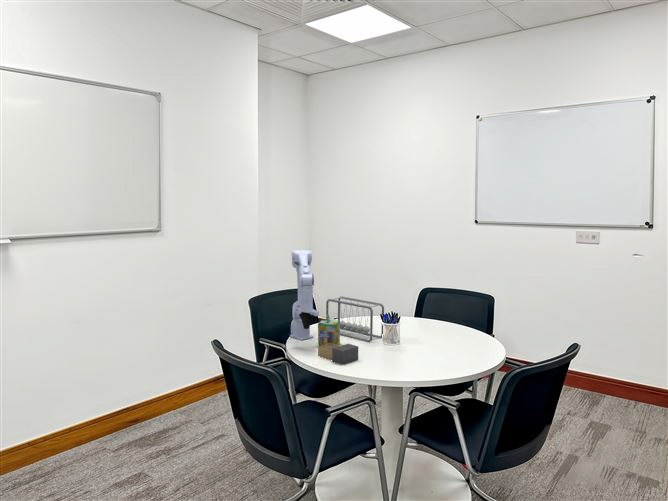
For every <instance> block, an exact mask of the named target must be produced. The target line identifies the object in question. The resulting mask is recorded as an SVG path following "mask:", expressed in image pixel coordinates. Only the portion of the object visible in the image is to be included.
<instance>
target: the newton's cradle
mask: <svg viewBox="0 0 668 501" xmlns="http://www.w3.org/2000/svg"><path fill="white" fill-rule="evenodd" d="M330 302H332V303H337V321H340V330H343V331H348V332H352V333H356V334H359V335H364V336H369V339H366V338H361V337H359V336H354V335H351V334H346V333H342V332H340V337H341V336H342V337H347V338H350V339H353V340H358V341H362V342H367V343H370V342H372V341H373V340H376V339H382V338H383V337H382V334H383V325H382V324H381V328H380V329H381V335H378V334H377V335H376V334H374V333H373V327H374V326H373V325H374V324H373V319H374V318H373V316H374V311H373V308H374V307H378V306H380V307H381V315H382V314H384V315H385V306H384V304H383V303H379V302H374V301H368V300H364V299H359V298H358V299H357V298H352V297H346V296H339V297H336V298H332V299H331V298H327V300H326V304H325V306H326V307H325V312H326V313H325V314H326V316H327V314H328V315H329V303H330ZM341 304H343V305H344V306H345V308H344V310H343V312H345V309H346V311H348V309H347V305H348V306H351V307H356V311H355V312H357V314H358V315H357V316H360V314H359V311H358V308H362V310H361V311H362V313H363V314H364V317H366V315H365V314H366V313H365V312H364V309H368V312H367V313H368V314H370V322H369V326H368V325H367V322H365V323H364V324H365V326H363V324H362V323H361V320H362V318H363V316H361V317H360V318H361V319H360V320H358V322H359V324H357V323H356V322H355V320H356V318H357V316H355V319H354V318H352V321H353V323H351V322H350V320H351V319H350V318H351V316H349V317H348V315H346V317H347V318H346V319H348V321H347V322H345V321H344V320H341V319H344V318H345V316H344V315H343V316H342V313H341V307H342V306H341ZM370 305H371V306H370ZM369 311H370V313H369ZM351 312H352V314H354V311H353V309H350V311H349V313H351ZM326 316H325V317H326ZM368 318H369V317H367V320H366V321H369V319H368ZM325 320H327V318H325Z"/></svg>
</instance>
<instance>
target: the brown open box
mask: <svg viewBox="0 0 668 501" xmlns="http://www.w3.org/2000/svg"><path fill="white" fill-rule="evenodd" d="M338 346H341V344H339V345H336V344H333V343H329V344H325V345H322V346H318V345H317V356H318V357H319V356H320V358H322V357H323V359H325V358H326V360H329V361H331V360H332V348H335V347H338Z"/></svg>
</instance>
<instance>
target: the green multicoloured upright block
mask: <svg viewBox="0 0 668 501" xmlns="http://www.w3.org/2000/svg"><path fill="white" fill-rule="evenodd" d="M325 317H326V318H327V320H326V318H325V319H321V320H320V321H319V322H318V323H317V336H318V338H317V341H318V343H317V344H318V345H317V347H318V346H322V345H325V344H329V343H333V344H336V345H341V344H340V342H341V339H340V337H341V335H340V333H341V329H340V321H341V320H340V321H338V319H337V320H335V319H331V318H330V316H329V313H328V314H327V316H325Z"/></svg>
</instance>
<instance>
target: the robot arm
mask: <svg viewBox="0 0 668 501" xmlns="http://www.w3.org/2000/svg"><path fill="white" fill-rule="evenodd" d="M312 260H313V252H312V250H311V249H293V250H292V251H291V265H292V267H293V268H294V269H295V270H296V277H297V278H296V279H297V281H296V282H297V285H296V286H297V300H296V301H295V302H294V303H293V304H292V311H291V312H292V321H291V324H290V335H289V337H291V338H292V339H293V338H294V339H297V340H301V341H304V340H308V339H312V338H314V336H313V335H311V333H310V332H311V330H310V329H311V323H312V320H313V318H314V317H318V316H319V315H320V312H319V311H318V310H316V309H314V305H313V304H314V303H313V302H314V301H313V300H314V294H313V293H314V291H313V290H314V286H315V276H314V273H312V268H311V264H312Z"/></svg>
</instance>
